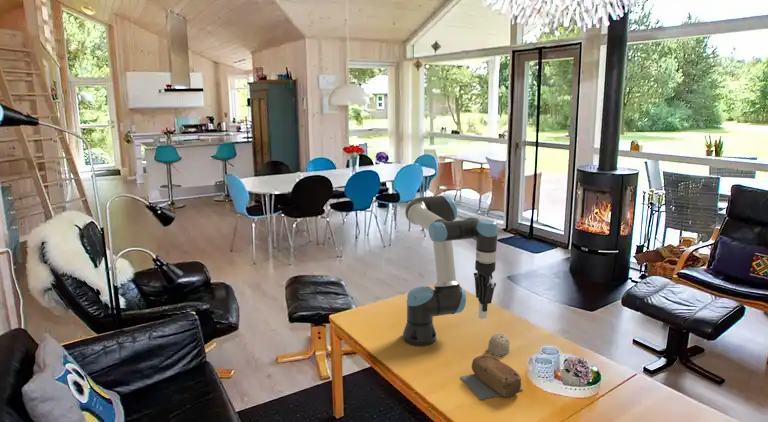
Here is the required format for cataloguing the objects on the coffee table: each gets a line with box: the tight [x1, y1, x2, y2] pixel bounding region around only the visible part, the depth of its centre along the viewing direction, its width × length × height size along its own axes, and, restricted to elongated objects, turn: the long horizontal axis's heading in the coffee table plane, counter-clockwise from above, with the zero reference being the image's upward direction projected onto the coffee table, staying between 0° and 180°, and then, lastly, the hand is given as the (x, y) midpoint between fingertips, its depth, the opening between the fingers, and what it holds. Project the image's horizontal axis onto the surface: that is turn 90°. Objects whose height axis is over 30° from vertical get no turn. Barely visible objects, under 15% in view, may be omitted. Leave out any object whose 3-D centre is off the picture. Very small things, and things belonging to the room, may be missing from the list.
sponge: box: [487, 332, 511, 357], centre depth 230 cm, size 9×10×10 cm
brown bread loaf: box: [471, 354, 522, 398], centre depth 204 cm, size 11×8×20 cm
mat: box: [459, 373, 523, 401], centre depth 204 cm, size 16×18×1 cm
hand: (482, 317), depth 206 cm, fingers closed
